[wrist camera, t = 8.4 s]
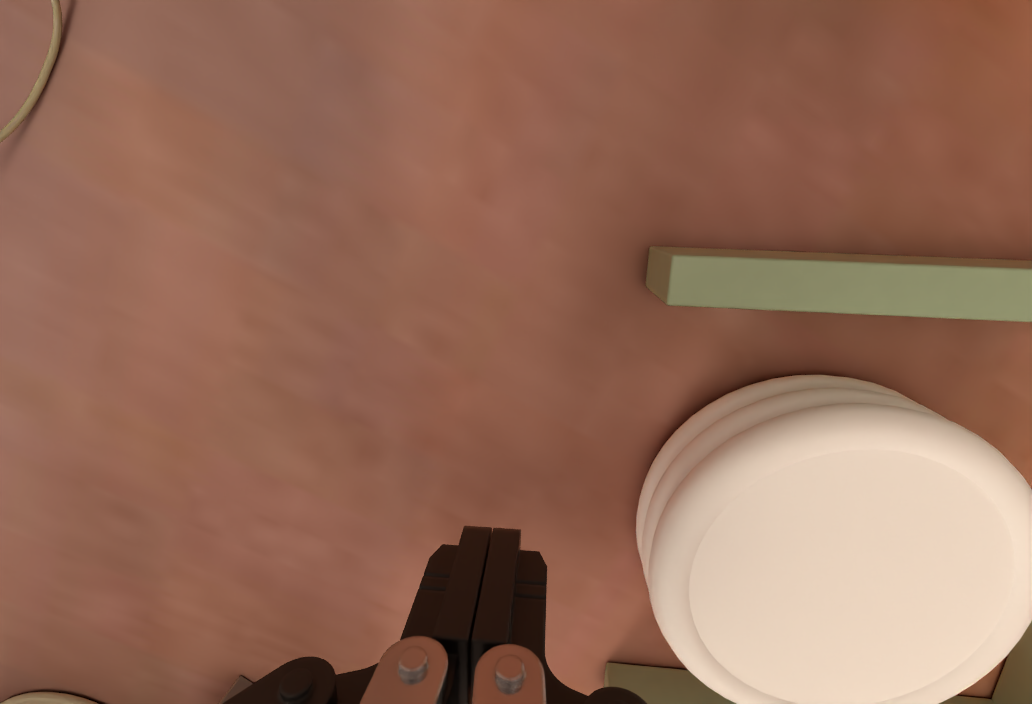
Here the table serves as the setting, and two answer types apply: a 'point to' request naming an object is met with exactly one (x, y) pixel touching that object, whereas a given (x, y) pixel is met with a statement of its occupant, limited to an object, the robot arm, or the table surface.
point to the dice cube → (236, 688)
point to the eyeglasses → (42, 76)
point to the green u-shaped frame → (848, 290)
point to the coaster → (834, 546)
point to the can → (47, 699)
